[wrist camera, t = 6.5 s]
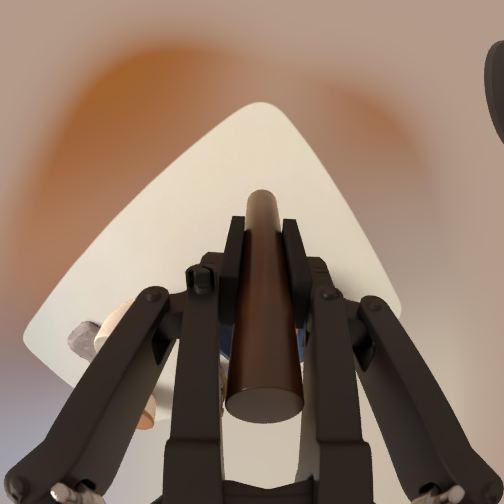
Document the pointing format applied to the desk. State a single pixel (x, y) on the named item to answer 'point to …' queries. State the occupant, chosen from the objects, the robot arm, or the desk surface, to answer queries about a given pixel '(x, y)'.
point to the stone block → (84, 340)
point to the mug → (110, 324)
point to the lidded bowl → (148, 415)
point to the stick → (264, 324)
